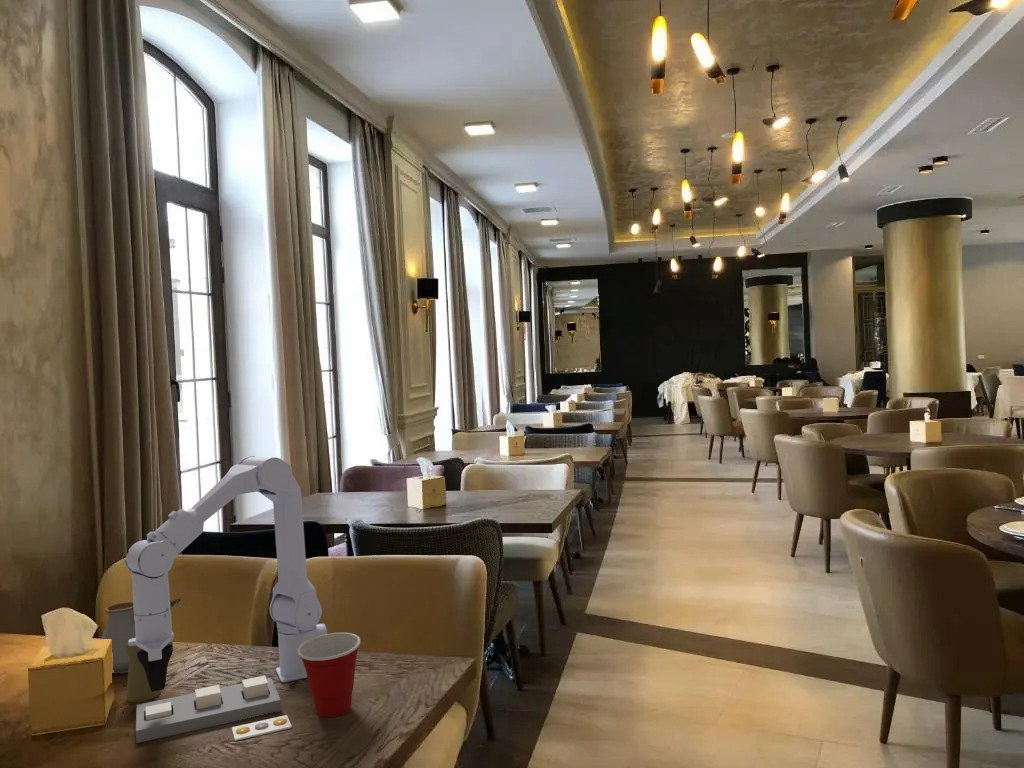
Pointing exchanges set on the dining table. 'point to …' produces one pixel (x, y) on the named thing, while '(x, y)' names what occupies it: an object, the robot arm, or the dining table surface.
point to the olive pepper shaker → (137, 678)
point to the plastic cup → (331, 671)
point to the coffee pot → (122, 632)
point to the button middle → (208, 697)
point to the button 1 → (158, 711)
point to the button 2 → (255, 687)
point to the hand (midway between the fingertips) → (157, 689)
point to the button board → (204, 712)
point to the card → (261, 727)
